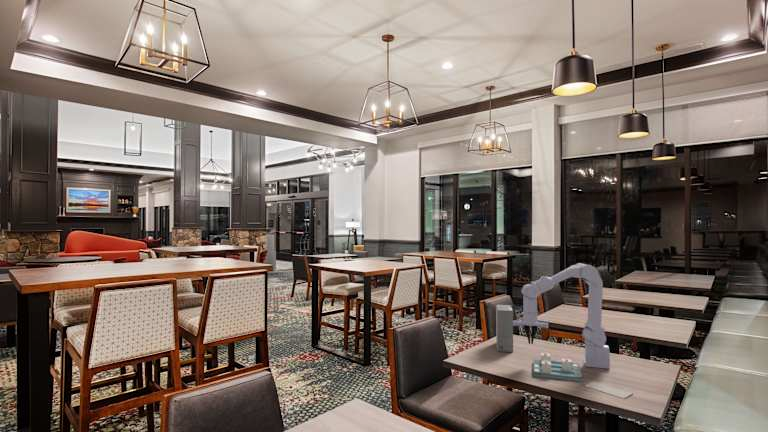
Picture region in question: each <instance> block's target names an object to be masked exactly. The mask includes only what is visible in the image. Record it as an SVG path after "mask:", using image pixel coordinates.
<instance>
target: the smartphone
mask: <svg viewBox="0 0 768 432" xmlns="http://www.w3.org/2000/svg"><path fill="white" fill-rule="evenodd" d="M583 386H584V387H587V388H588V389H592V390H595V391H598V392H601V393H604V394H607V395H609V396H614V397H617V398H620V399H623V400H626V399H629V398H630V397H632V396H633V395H634V393H632V392H629V391H626V390H623V389H619V388H616V387H612V386H609V385H606V384H602V383H599V382H596V381H590V382H588V383H586V384H583Z"/></svg>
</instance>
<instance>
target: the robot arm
mask: <svg viewBox="0 0 768 432" xmlns="http://www.w3.org/2000/svg"><path fill="white" fill-rule="evenodd" d="M570 278H578V279H581V280H582V281H584V282H585V283H586V284H587V285H588V298H587V300H588V302H587V320H586V322H585V323H584V328H583V330H582V332H581V335H582V337H583V339H584V340H585V341H584V352H585V353H584V359H583V364H584V367H590V368H598V369H599V368H600V369H611V365H610V363H611V360H610V359H611V358H610V347H609V345H607V344H606V342H607V336H606V333H605V328H604V326H603V324H602V315H603V314H602V312H603V311H602V308H603V288H604V287H603V286H604V283H603V280H602V278H601V275H600V274H599V269H597V268H596V267H594V266H593V265H591V264H586V263H582V262H578V263H576V264H572V265H570V266H569V267H567V268H565V269H563V270H561V271H560V272H557V273H556V274H554V275H552V276H550V277H549V276H546V275H545V276H543V275H542V276H540V278H539V279H537V280H535V281H530V283H527V284H524V285H523V286H522V287H521V290H520V292H521V294H522V295H523V302H522V303H523V306H522V309H523V312H522V313H523V320H514V319H513V327H516V326H518V327H523V331H524V333H525V335H526V338H527V341H528V344H530V345H533V344H534V339H535V337H536V334H537V332H538V330H539V329H538V328H544V329H549V322H544V321H543V322H542V321H538V297H540V295H541V294H543V293H545V292H547V291H550V290H552V289H553V288H554V286H555V284H558V283H560V282H562V281H565V280H567V279H570ZM530 328H531V329H530ZM530 331H531V332H530ZM530 336H531V337H530Z"/></svg>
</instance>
